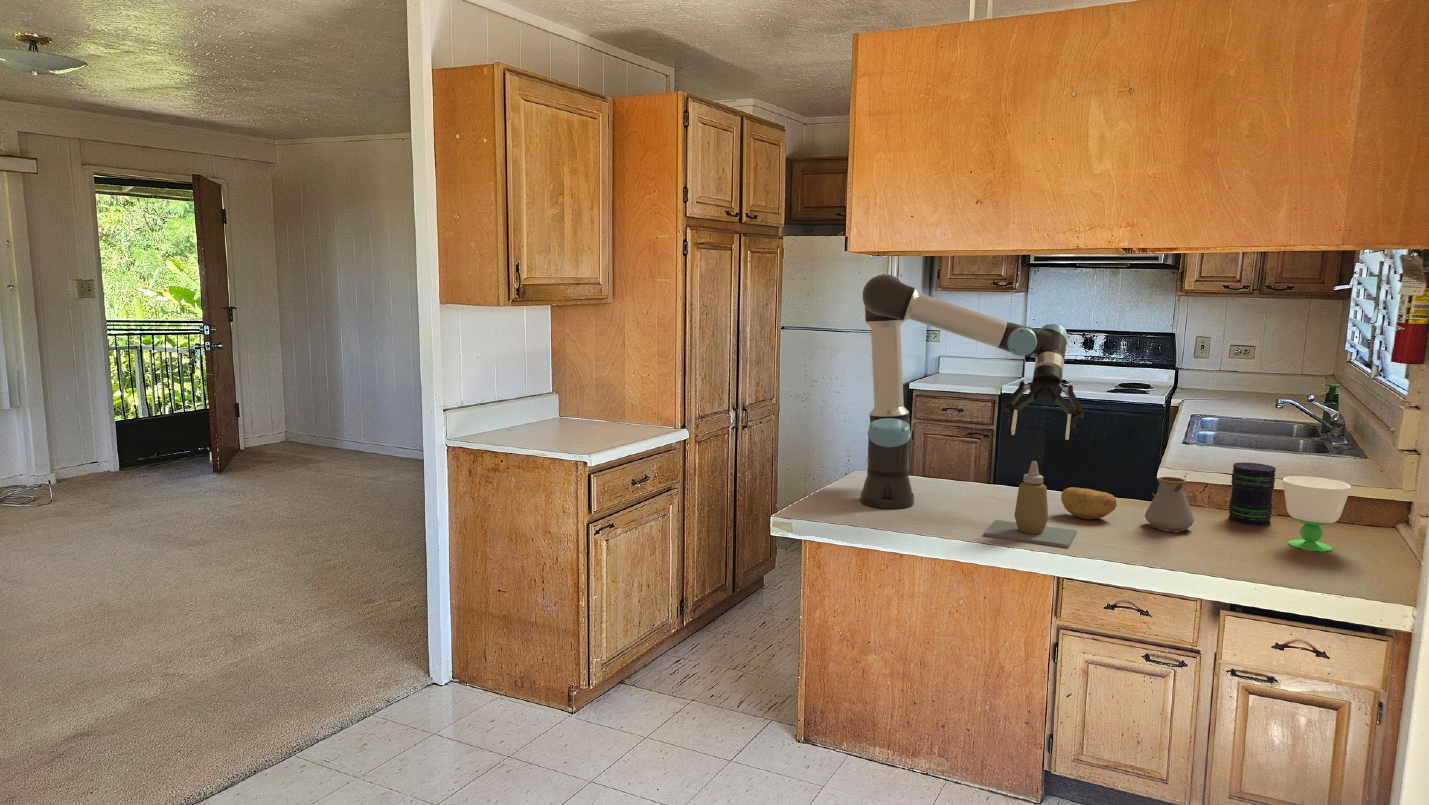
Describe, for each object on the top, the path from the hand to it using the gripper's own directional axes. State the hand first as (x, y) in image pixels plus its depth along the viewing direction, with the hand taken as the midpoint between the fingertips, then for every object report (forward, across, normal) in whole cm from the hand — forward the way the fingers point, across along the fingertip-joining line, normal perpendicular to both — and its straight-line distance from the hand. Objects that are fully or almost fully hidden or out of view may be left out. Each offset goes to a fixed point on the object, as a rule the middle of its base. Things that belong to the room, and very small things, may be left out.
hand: (1039, 434), depth 236 cm
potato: (+12, -13, -21) cm, 27 cm away
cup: (+14, -63, -17) cm, 67 cm away
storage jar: (+1, -53, -31) cm, 61 cm away
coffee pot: (+16, -33, -16) cm, 40 cm away
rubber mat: (+28, -1, -5) cm, 28 cm away
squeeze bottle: (+27, -1, -4) cm, 28 cm away
